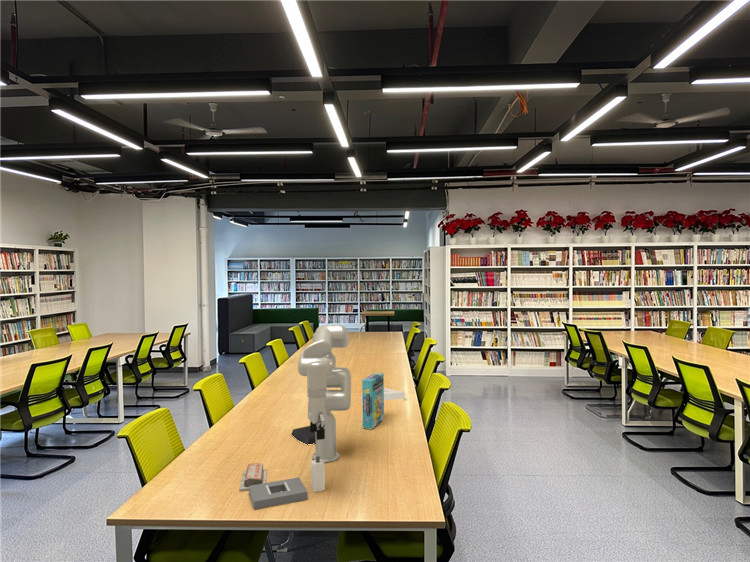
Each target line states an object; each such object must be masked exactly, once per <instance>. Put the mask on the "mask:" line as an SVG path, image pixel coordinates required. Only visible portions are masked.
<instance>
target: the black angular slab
mask: <svg viewBox="0 0 750 562" xmlns="http://www.w3.org/2000/svg"><path fill="white" fill-rule="evenodd" d="M291 434H292V435H293V436H294V437H295V438H296V439H297V440H296V439H295V438H294V437H293V436H292V435H291V436H292V437H293V438H294V439H295V440H296V441H298V440H299V441H301V442H303V443H305V444H307V445H308V444H313V443H316V437H315V432H310V425H308V426H306V425H305V426H302V427H297V428H293V429H292V432H291ZM299 441H298V442H299ZM301 442H300V443H301ZM313 445H314V444H313ZM308 446H309V445H308Z"/></svg>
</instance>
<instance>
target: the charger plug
mask: <svg viewBox="0 0 750 562" xmlns="http://www.w3.org/2000/svg"><path fill="white" fill-rule="evenodd" d="M325 463H326V462H323V460H322V459H320V456H316V460H313V459H312V460H311V461H310V482H311V484H310V485H311V486H310V488H311V490H312V489H313V490H312V492H313V491H314V492H313V493H318V492H317V491H319V492H323V490H325V491H326V488H325V487H326V481H325V479H326V475H325V473H326V472H325V468H326V466H325Z"/></svg>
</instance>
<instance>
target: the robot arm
mask: <svg viewBox="0 0 750 562" xmlns="http://www.w3.org/2000/svg"><path fill="white" fill-rule="evenodd" d="M312 334H313V335H312V343H311V344H310V345H308V346H307V347H305V348H304V349H303V350H302V351H301V353H300V354H299V359H298V364H297V371H298V373H299V375H301V376H302V377H307V387H306V388H307V389H306V392H307V393H306V394H307V398H308V401H307V402H308V403H307V419H308V420H309V421H310V422H309V426H310V432H315V437H316V444H315V451H314V453H313V454H312V460H313V459H314V460H316V456H320V459H322V460H323V462H324V463H331V462H332V463H333V462H335V461H338V459H340V453H339V452H338V451H337V423H336V422H337V421H336V417H335V416H334V414H333V413H332V412H333V411H334V412H338V411H340V412H341V411H342V412H343V411H348V410H350V407H351V405H352V374H351V370H350V369H349V368H348V367H340V366H339V367H337V366H336V364H337V362H336V361H337V359H336V356H335V354H334V353H333V352H332V349H336V348H337V349H338V348H339V349H341V348H347V346H348V345H349V341H350V337H349V333H348V329H347V328H346V326H344V325H342V324H324V325H319V326H318V327H317V328H316V329H315V332H314V333H312ZM327 388H328V389H327ZM329 388H331V389H329ZM337 388H340V389H337Z"/></svg>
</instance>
